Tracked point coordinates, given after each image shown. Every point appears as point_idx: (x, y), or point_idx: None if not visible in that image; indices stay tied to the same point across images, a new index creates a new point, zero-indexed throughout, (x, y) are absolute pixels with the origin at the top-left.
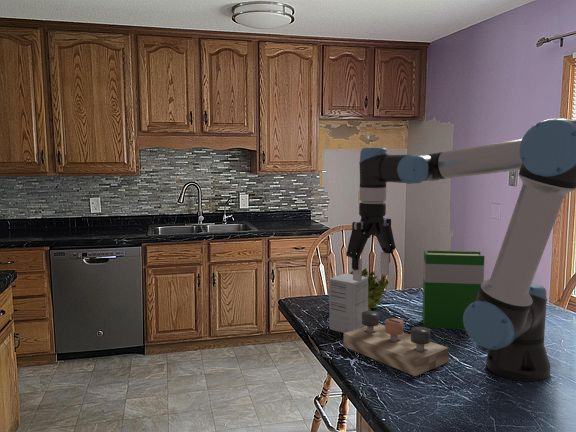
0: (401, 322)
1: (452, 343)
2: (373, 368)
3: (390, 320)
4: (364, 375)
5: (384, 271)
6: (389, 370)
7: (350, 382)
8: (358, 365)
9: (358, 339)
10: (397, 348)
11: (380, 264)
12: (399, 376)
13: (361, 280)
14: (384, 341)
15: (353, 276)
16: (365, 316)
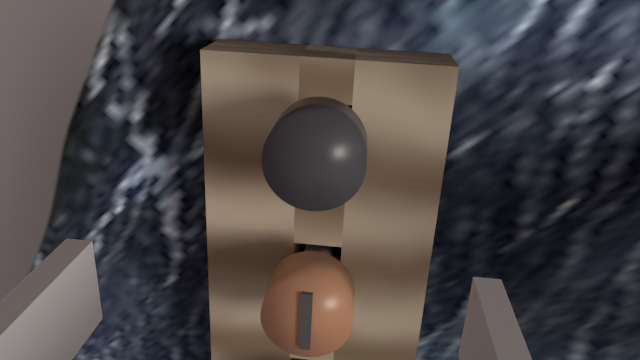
0: (319, 349)
1: (588, 329)
2: (164, 257)
3: (301, 302)
4: (101, 267)
5: (468, 352)
6: (196, 299)
7: (31, 267)
8: (137, 208)
9: (204, 152)
10: (254, 319)
11: (495, 348)
12: (188, 340)
13: (96, 324)
14: (273, 247)
15: (47, 265)
16: (263, 164)
